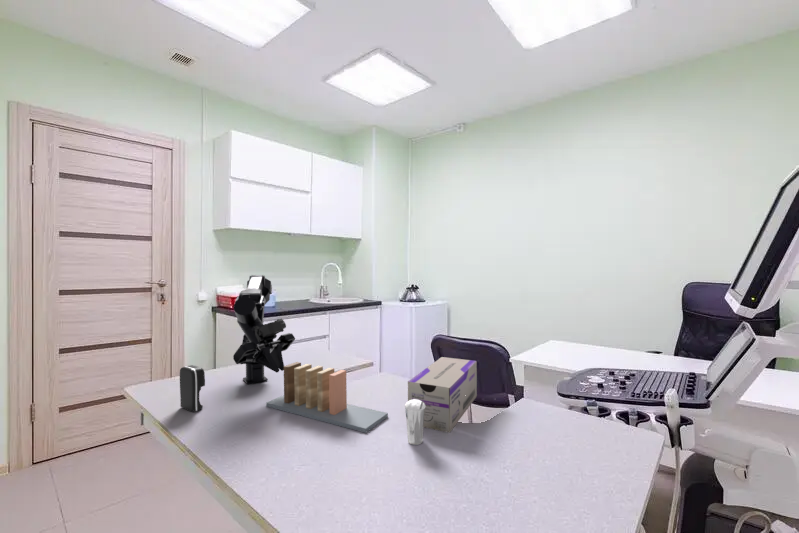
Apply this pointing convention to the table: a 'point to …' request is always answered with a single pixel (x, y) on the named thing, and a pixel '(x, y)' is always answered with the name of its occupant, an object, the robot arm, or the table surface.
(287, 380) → the walnut domino
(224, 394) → the table surface
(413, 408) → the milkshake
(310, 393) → the maple domino
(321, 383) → the maple domino
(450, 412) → the surgical sutures box
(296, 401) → the maple domino
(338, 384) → the terracotta domino
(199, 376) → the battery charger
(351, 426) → the slate board
